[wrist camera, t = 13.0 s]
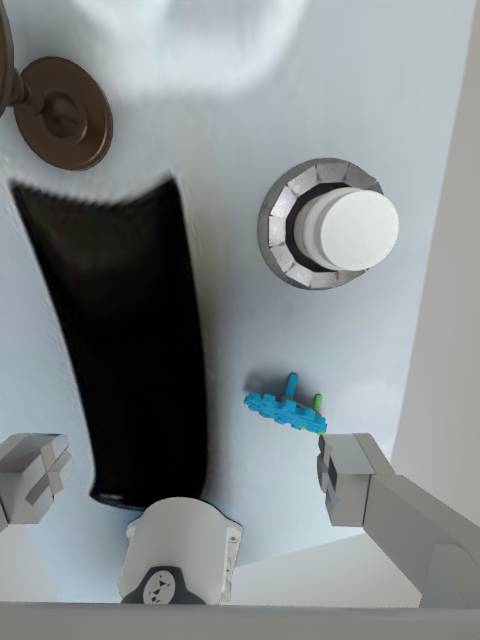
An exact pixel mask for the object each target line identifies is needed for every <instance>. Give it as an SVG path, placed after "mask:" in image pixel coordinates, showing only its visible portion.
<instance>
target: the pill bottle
mask: <svg viewBox="0 0 480 640" xmlns="http://www.w3.org/2000/svg"><path fill="white" fill-rule="evenodd" d="M398 231H399V219H398V214H397V211H396V209H395V207H394V206H393V204H392V203H391V201H390V200H389V199H387V198H386V197H385V196H383V195H382V194H380V193H378V192H374V191H370V190H363V189H359V188H353V187H345V188H339V189H335V190H332V191H330V192H327V193H325V194H322V195H320V196H317V197H315V198H313V199H311V200H309V201H307V202H306V203H305V204H303V205H302V206H301V207H300V208H299V210H298V211H297V213H296V214H295V216H294V219H293V222H292V227H291V234H292V239H293V242H294V244H295V246H296V248H297V249H298V250H299V251H300V252H301V253H302V254H303V255H305V256H307V257H308V258H310V259H312V260H313V261H315V262H316V263H318V264H319V265H321V266H323V267H325V268H328V269H331V270H339V271H341V270H349V271H359V270H364V269H367V268H370V267H372V266H374V265H376V264H378V263H379V262H380V261H382V260H383V259H384V258H385V257H386V256H387V255H388V254H389V252H390V251H391V249H392V248H393V246H394V244H395V242H396V239H397V236H398Z"/></svg>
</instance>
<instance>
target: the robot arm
mask: <svg viewBox="0 0 480 640" xmlns="http://www.w3.org/2000/svg"><path fill="white" fill-rule="evenodd" d="M68 445H69V443H68V439H67V436H65V435H63V434H39V433H33V434H29V433H17V434H14V435H11V436H10V437H9V438H8V439H7V440H5V441H4V442H3V443H2V444H1V445H0V532H1V531H2V530H4V529H5V528H6V527H8V524H38V523H39V522H40V520H41V519H42V518H43V516H44V515H45V514H46V512H47V511H48V509H49V508H50V507H51V505H52V504H53V502H54V495H55V494H56V493H58V492H59V491H61V490H62V489H64V487H65V486H66V484H67V483H68V481H69V479H70V477H71V474H72V471H73V459H72V456H71V455H70V454H69V453H68V452H67V451H66V449H67V447H68ZM318 445H319V448H320V451H321V453H320V454H319V455H318V456H317V472H318V479H319V484H320V487H321V490H322V491H323V492H324V493H325V494H326V501H325V504H326V508H327V511H328V514H329V518H330V521H331V524H332V526H346V527H363V529H364V530H365V532H366V533H367V534H368V535H369V536H370V537H371V538H372V539H373V540H374V542H375V543H376V544H377V545H378V546H379V547H380V548H381V549H382V550H383V552H385V554H386V555H387V556H388V557H389V558H390V559H391V560H392V561H393V563H394V564H395V565H396V566H397V567H398V568H399V569H400V570H401V571H402V573H403V574H404V575H405V576H406V577H407V578H408V579H409V580H410V581H411V582H412V584H413V585H414V586H415V587H416V588H417V589H418V590H419V591H420V592H421V594H422V598H421V601H420V605H419V608H390V607H387V608H386V607H384V608H383V607H324V606H317V607H316V606H258V605H257V606H256V605H219V602H220V600H221V601H225V602H229V601H230V595H231V582H230V581H231V577H232V573H233V569H234V565H235V561H236V557H237V552H238V548H239V544H240V540H241V536H242V527H241V526H240V525H239V524H237V523H235V522H233V521H231V520H228V519H227V518H225V517H224V516H223V515H222V514H221V513H220V512H219V511H218V510H217V509H215V508H214V507H213V506H211V505H209V504H207V503H205V502H203V501H200V500H197V499H193V498H186V497H173V498H167V499H163V500H160V501H157V502H155V503H154V504H152V505H151V506H149V507H148V508H147V509H146V510H145V512H144V513H143V514H142V516H141V517H140V518H139V519H137V520H135V521H133V522H131V523H130V524H128V526H127V530H126V535H127V537H128V539H129V541H130V545H129V548H128V551H127V554H126V557H125V561H124V564H123V567H122V570H121V574H120V577H119V580H118V585H117V588H118V589H119V593H120V595H121V597H122V599H123V600H122V601H121V603H62V602H1V601H0V640H480V527H479V526H477V525H475V524H474V523H473V522H471V521H470V520H468V519H467V518H465V517H464V516H462V515H461V514H459V513H458V512H456V511H455V510H453V509H452V508H450V507H449V506H447V505H446V504H444V503H443V502H441V501H440V500H438V499H437V498H435V497H434V496H432V495H431V494H429V493H428V492H426V491H425V490H423V489H422V488H420V487H419V486H417V485H416V484H414V483H413V482H411V481H410V480H409V479H407V478H405V477H404V476H403V475H396V473H395V472H394V470H393V469H392V467H391V465H390V464H389V462H388V460H387V459H386V457H385V456H384V454H383V453H382V451H381V449H380V448H379V446H378V445H377V443H376V442H375V440H374V438H373V437H372V435H370V434H369V433H353V434H320V436H319V443H318Z"/></svg>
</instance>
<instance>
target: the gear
mask: <svg viewBox="0 0 480 640" xmlns="http://www.w3.org/2000/svg"><path fill="white" fill-rule="evenodd" d="M297 380H298V376H297V375H295V374H291V375H290V378H289V382H288V385H287V389H286V392H285V396H282V397H281V400H280V402H276V401H275V397H274V396H272V395H269V394H264V396H263V399H262V398H260V395H258V394H256V393H249V396H246V397H245V400H244V403H245V404H247V405H249V406H248V408H249V409H250V410H253V411H258V412H259V415H261V416H263V417H266V418H274V419H275V420H274V421H275V422H277V423H280V424H284V423H290V424H292V425H291V427H293V428H296V429H299V430H301V428H303V429H306V430H308V431H310V432H315V433H316V434H318V435H320V434H325V432H326V427H327V424H326V423H325V420H326V419H325V418H324V417H321V416H322V415H321V414H319V413H318V412H319V408H320V403H321V399H322V396H320V395H316V398H315V403H314V407H313V410H312V409H310V408H308V407H306V406H304V405H303V404H301V403H299V402H297V401H295V400H293V395H294V391H295V388H296V384H297Z"/></svg>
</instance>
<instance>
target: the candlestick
mask: <svg viewBox="0 0 480 640" xmlns="http://www.w3.org/2000/svg"><path fill="white" fill-rule="evenodd" d="M6 107H14V113H15V118H16V122H17V125H18V128H19V130H20V132H21V134H22V136H23V138H24V140H25V141H26V143H27V144H28V145H29V147H30V148H31V149H32V150H33V151H34V152H35V153H36V154H37V155H38V156H39V157H40V158H41V159H43V160H44V161H45V162H47V163H49V164H51V165H53V166H55V167H58V168H62V169H66V170H69V171H81V170H87V169H89V168H91V167H93V166H95V165H96V164H97V163H99V162H100V161H101V160H102V159H103V157H104V156H105V155H106V153H107V151H108V149H109V147H110V144H111V140H112V135H113V119H112V113H111V109H110V105H109V103H108V101H107V98H106V96H105V94H104V92H103V91H102V89H101V88H100V86H99V85H98V83H97V82H96V81H95V80H94V79H93V78H92V77H91V76H90V75H89V74H88V73H87V72H86V71H85V70H83V69H82V68H81V67H80V66H78V65H77V64H75V63H73V62H71V61H69V60H67V59H63V58H60V57H44V58H39V59H37V60H35V61H34V62H32V63H30V64H29V65H28V66H27V67H26V68H25V69H24V70H23V71H22V73H21V75H20V74H19V72H18V71H17V69H16V68H15V67H14V46H13V41H12V35H11V29H10V24H9V19H8V16H7V13H6V10H5V7H4V4H3V1H2V0H0V117H1V116H2V114H3V113H4V111H5V108H6Z"/></svg>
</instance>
